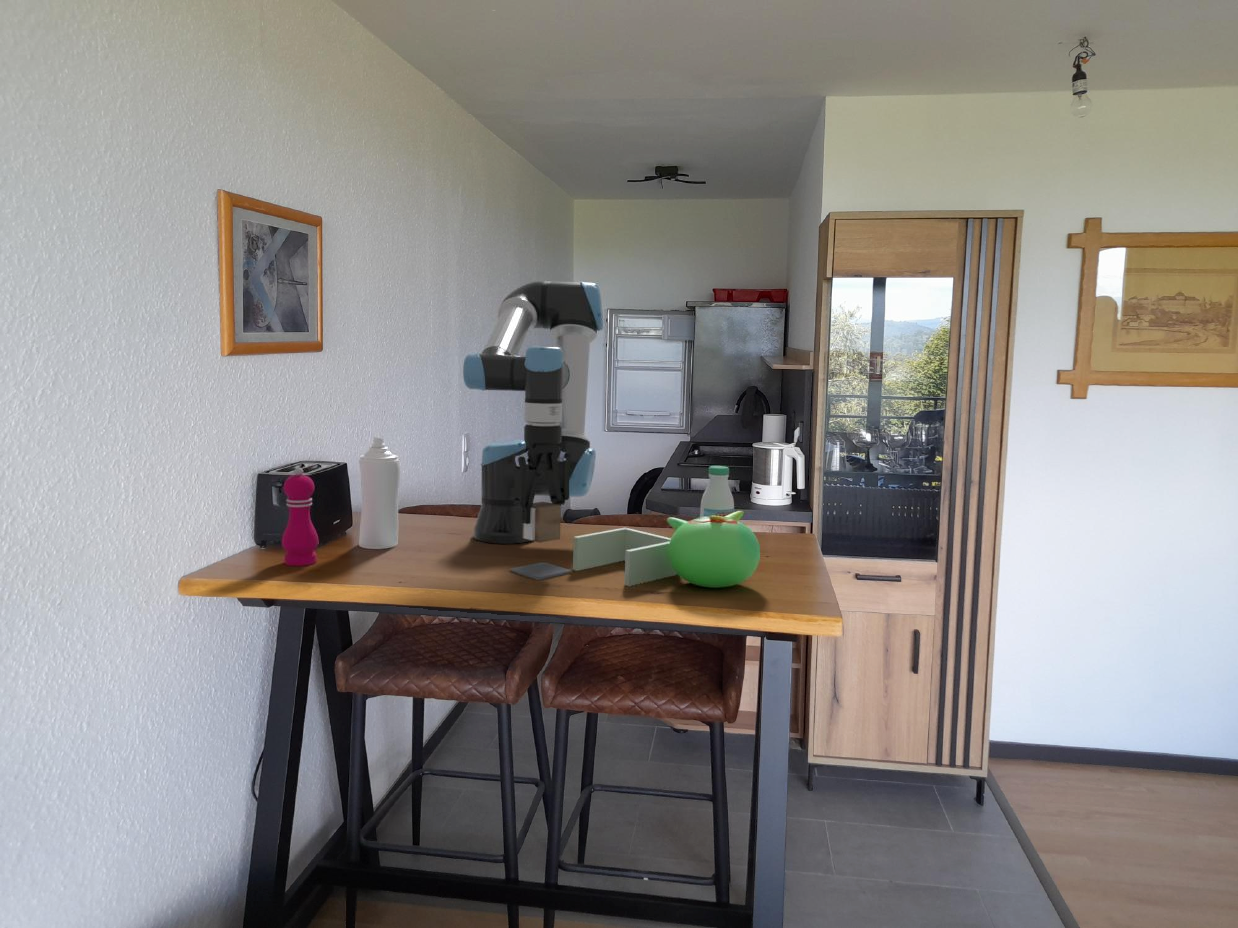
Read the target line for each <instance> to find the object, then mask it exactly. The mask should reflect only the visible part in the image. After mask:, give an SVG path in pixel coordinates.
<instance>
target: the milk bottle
mask: <svg viewBox="0 0 1238 928" xmlns="http://www.w3.org/2000/svg"><path fill="white" fill-rule="evenodd" d="M729 474H730V468H729V467H728V466H726V465H724V466H723V465H711V466H709V467H708V477H709V480H708V483H707V486H706V488H705V490H704V492H703V494H702V497H701V501H700V510H699V517H704V516H708V517H710V516H722V517H725V516H727V515H729V514H731V513H734V512H735V503H734V502H735V501H734V496H733V494H732V491H731V489H730V485H729V481H728V480H729V479H728V478H729V477H730V475H729Z"/></svg>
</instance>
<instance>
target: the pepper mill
mask: <svg viewBox="0 0 1238 928" xmlns="http://www.w3.org/2000/svg"><path fill="white" fill-rule="evenodd" d="M293 472H294V473H293V474H294V475H290V476H289V477H288V478H286V479H285V481H284V484H283V493H284V494H285V495H286V496H287V498H286V506H287V507H288V510H289V515H288V516H289V519H288V522H287V525H286V528H285V530H284V532H283V534H282V538H281V547H282V548H283V549H284V550H285V552H287V553H285V554H284V563H285V565H287V566H290V567H291V566H292V567H302V566H305V567H306V566H311V565H313V564H316V563H317V558H318V557H317V552H315V550H316V548H317V547H318V546H319V543H320V542H319V540H320V539H319V536H318V533H317V530H316V529H315V526H314V524H313V522H312V520H311V513H310V512H311V506H312V505H313V498H312V497H311V496H312V495H313V494H314V492H315V483H314V480H313V479H312V478H311V477H309V476H307V475H305V474H304V470H303V468H301V467H295V469H294V470H293Z"/></svg>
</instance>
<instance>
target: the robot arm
mask: <svg viewBox="0 0 1238 928" xmlns="http://www.w3.org/2000/svg"><path fill="white" fill-rule="evenodd" d="M603 316H604V314H603V306H602V296H601V291H600V287H599V285H598V284H596V283H594V282H584V281H581V280H580V281H545V280H538V281H533V282H529V283H526V284H523V285H522V286H520V287H517V288H516V289H514V290H513V291H512V292H510V293H509V294H508V295H507V296H505V298H504V299H503V300H502V302H501V303H500V306H499V308H498V312H497V318H498V319H497V322H496V324H495V326H494V327H493V330H492V332H491V334H490V335H489V337H488V340H487V342H486V344H485V346H484V348H483V349H482V352H481V353H478V352H477V353H470V354H467V355H466V356H465V358H464V360H463V366H462V375H463V376H462V377H463V383H464V385H465V386H466V388H468V389H470V390H479V391H482V392H483V391H484V392H485V391H505V392H506V391H510V392H511V391H512V392H516V391H517V392H524V411H523V412H524V415H523V419H524V420H523V421H524V422H525V425H524V428H523V429H524V432H523V433H524V435H523V439H515V440H506V441H503V440H502V441H498V442H494V443H493V442H492V443H488V444H487V445H485V447H483V449H482V451H481V453H482V455H481V463H480V466H481V503H480V504H481V505H480V509H479V512H478V514H477V517H476V522H475V525H474V527H473V538H474V539H475V540H476V541H477V540H478V541H480V542H483V543H488V544H490V543H491V544H501V545H502V544H505V545H506V544H521V543H527V542H531V540H535V508H533V507H532V505H533V503H534V499H535V497H536V496H537V497H538V496H543V497H545V496H546V497H549V498H550V499H549V500H550V503H552V504H557V505H561V506H563V505H565V503H566V501H568V500H569V499H570V498H571V497H572V498H577V497H580V498H581V497H585V496H586V495H587V494H588V492H589V491H590V489H591V486H592V482H593V478H594V472H595V466H596V450H595V449H594V448H593V447H590V446H591V441H590V440H589V439H588V438H587V436H586V435H585V431H586V429H585V426H586V413H587V394H588V380H589V379H588V378H589V364H590V363H589V361H590V349H591V347H590V346H591V343H593V342H594V341H595V340H596V339H597V336H598V335H597V334H598V332H600V331H603V329H604V317H603ZM533 329H547V330H549V335H550V336H551V337H552V339H553V340H554V341H555V342H554V346H553V347H552V346H529V347H527V348H526V351H525V355H519V354H520V352H521V349H522V347H523V344H524V342H525V340H526V338H527V335H528V333H530V332H532V330H533ZM522 523H524V538H525V539H524V538H522ZM528 539H529V540H528Z"/></svg>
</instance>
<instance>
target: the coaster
mask: <svg viewBox="0 0 1238 928" xmlns="http://www.w3.org/2000/svg"><path fill="white" fill-rule="evenodd" d="M572 570H573V569H568V568H566V567H561V566H558V565H554V564H551V563H548V562H545V561H541V562H538V563H537V562H536V563H532V564H525V565H521V566H516V567H512V568H509V571H510V572H511V573H514V574H518V575H521V576H524V577H527V578H530V579H533V580H536V581H540V580H544V579H549V578H554V577H558V576H563V575H567V574H572V572H573V571H572Z"/></svg>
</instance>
